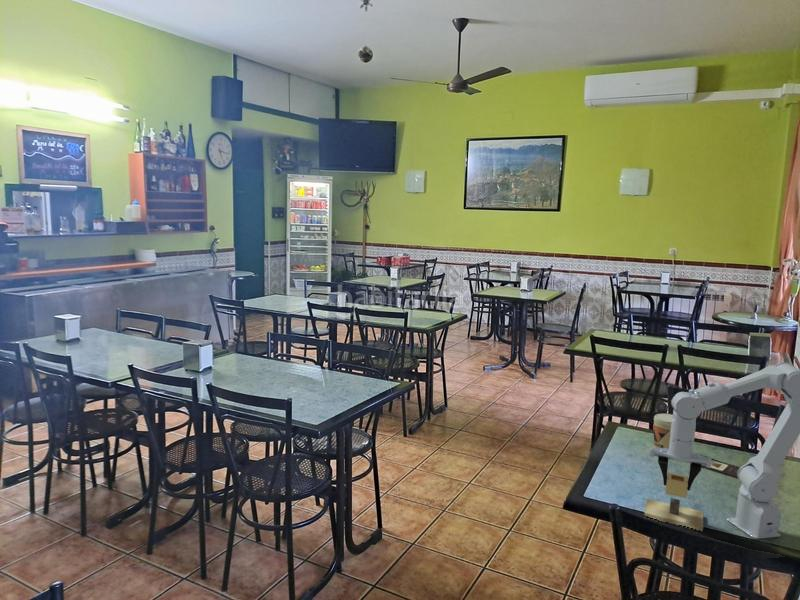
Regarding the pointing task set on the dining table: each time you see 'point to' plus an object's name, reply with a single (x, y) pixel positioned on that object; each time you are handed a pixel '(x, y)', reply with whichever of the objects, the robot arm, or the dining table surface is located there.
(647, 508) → the post stand
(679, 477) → the collar
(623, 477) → the dining table surface
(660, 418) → the coffee cup
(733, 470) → the chocolate bar
